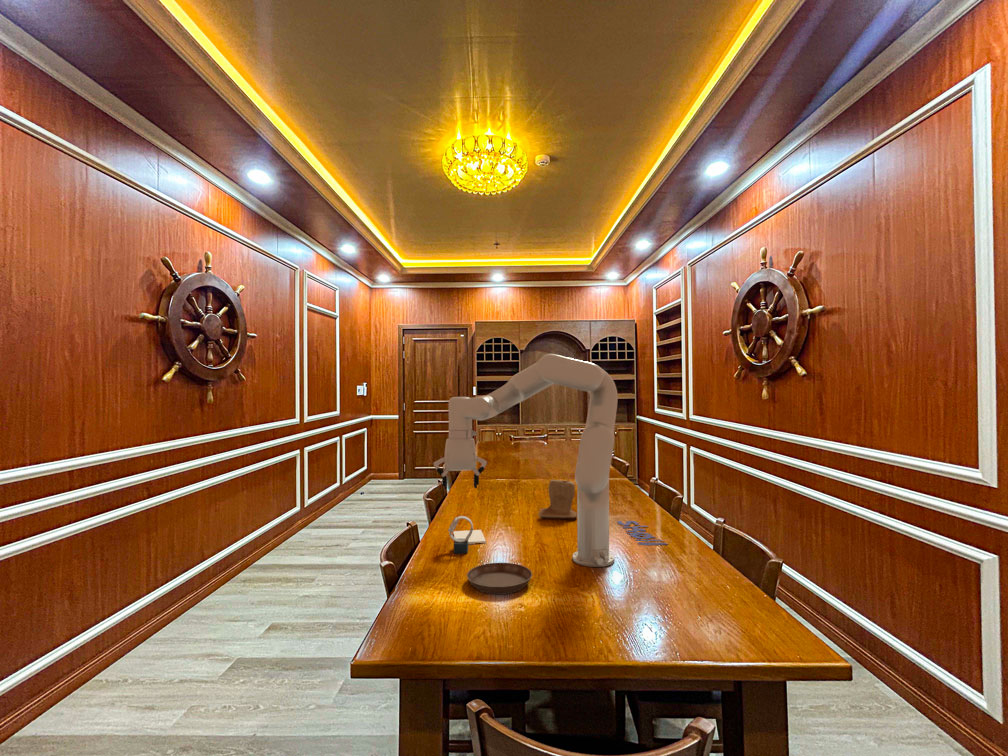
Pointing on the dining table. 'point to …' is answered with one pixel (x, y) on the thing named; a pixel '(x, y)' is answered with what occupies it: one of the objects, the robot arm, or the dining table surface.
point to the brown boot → (560, 500)
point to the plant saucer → (499, 577)
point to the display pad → (474, 538)
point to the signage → (636, 534)
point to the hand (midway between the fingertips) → (460, 487)
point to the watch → (460, 544)
